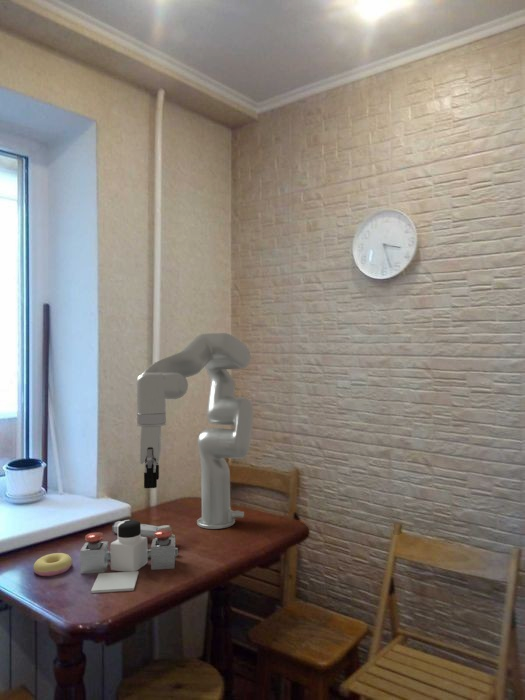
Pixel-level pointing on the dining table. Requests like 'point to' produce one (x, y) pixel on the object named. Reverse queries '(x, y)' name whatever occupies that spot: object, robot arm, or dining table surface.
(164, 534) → the plunger
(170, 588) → the dining table surface
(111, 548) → the medicine bottle
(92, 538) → the plunger
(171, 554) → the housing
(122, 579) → the mat
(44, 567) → the donut
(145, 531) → the grey piece
